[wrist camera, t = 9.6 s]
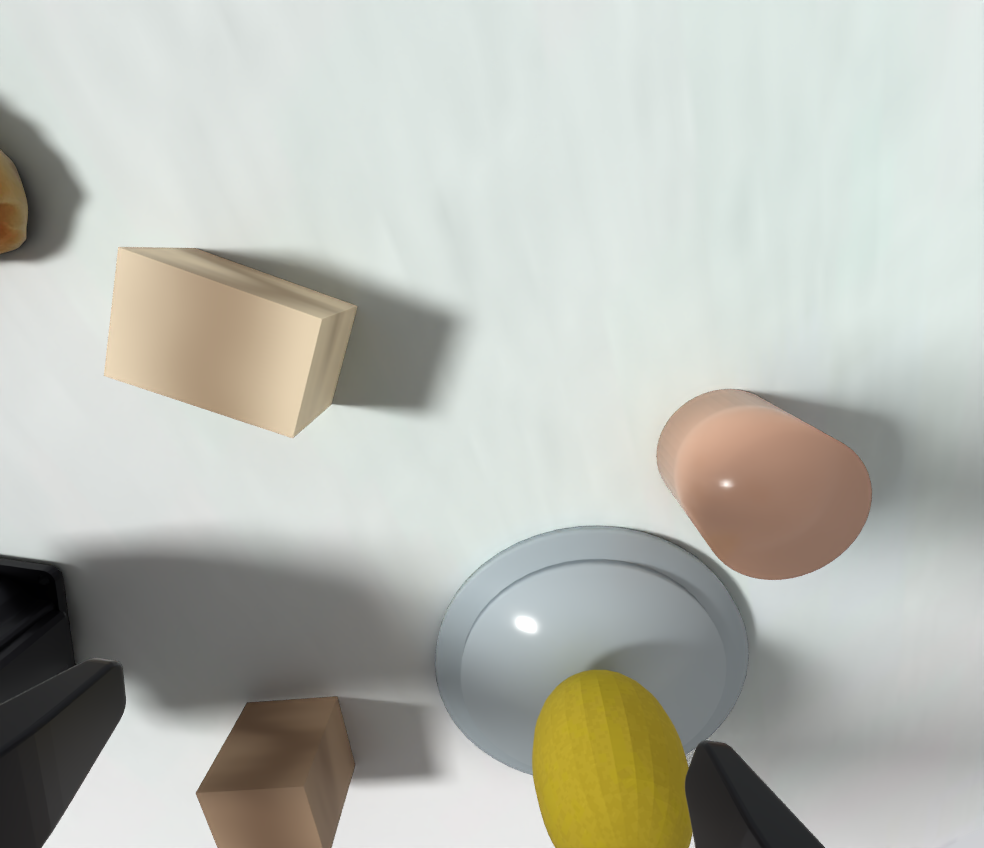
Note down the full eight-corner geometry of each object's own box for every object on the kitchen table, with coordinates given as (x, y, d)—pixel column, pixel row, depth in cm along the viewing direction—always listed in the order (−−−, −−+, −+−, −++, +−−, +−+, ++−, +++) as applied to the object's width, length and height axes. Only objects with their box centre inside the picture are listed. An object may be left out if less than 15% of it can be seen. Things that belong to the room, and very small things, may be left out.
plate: (421, 751, 26) (417, 774, 24) (457, 503, 21) (454, 517, 20) (694, 787, 26) (702, 811, 25) (785, 551, 22) (801, 568, 20)
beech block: (181, 352, 20) (104, 375, 16) (197, 248, 18) (118, 246, 15) (332, 403, 20) (292, 438, 16) (358, 305, 19) (321, 318, 15)
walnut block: (270, 768, 26) (225, 868, 22) (247, 701, 25) (195, 793, 21) (355, 763, 26) (327, 862, 22) (337, 694, 25) (303, 786, 20)
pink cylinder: (643, 497, 21) (683, 568, 16) (675, 379, 19) (730, 420, 15) (761, 514, 21) (836, 589, 16) (802, 399, 20) (898, 445, 15)
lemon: (678, 691, 22) (765, 914, 15) (572, 745, 24) (603, 976, 16) (611, 605, 21) (669, 800, 14) (503, 666, 22) (501, 877, 15)
